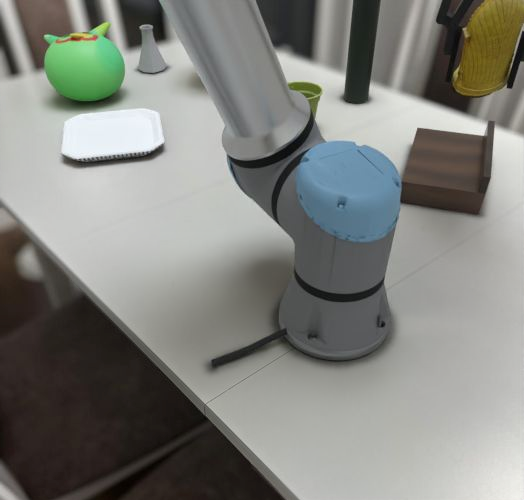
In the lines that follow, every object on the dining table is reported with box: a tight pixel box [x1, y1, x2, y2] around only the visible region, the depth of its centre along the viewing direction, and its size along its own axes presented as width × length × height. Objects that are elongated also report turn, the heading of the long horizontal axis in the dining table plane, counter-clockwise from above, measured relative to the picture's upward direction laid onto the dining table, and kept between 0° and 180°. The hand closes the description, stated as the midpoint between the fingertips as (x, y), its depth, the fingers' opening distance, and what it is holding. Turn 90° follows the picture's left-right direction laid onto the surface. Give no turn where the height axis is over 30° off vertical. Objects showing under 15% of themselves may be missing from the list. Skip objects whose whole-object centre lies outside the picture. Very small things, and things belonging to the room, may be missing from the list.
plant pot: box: [287, 80, 324, 119], centre depth 111 cm, size 9×9×9 cm
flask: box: [137, 24, 168, 74], centre depth 137 cm, size 7×7×10 cm
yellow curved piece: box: [450, 0, 524, 99], centre depth 72 cm, size 12×8×15 cm
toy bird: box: [43, 21, 126, 102], centre depth 123 cm, size 18×17×15 cm
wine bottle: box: [343, 0, 382, 104], centre depth 115 cm, size 6×6×30 cm
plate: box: [60, 107, 166, 163], centre depth 112 cm, size 21×21×2 cm
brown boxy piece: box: [400, 120, 496, 215], centre depth 98 cm, size 22×14×7 cm, turn 162°
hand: (478, 81), depth 76 cm, fingers closed on yellow curved piece, 8 cm apart
